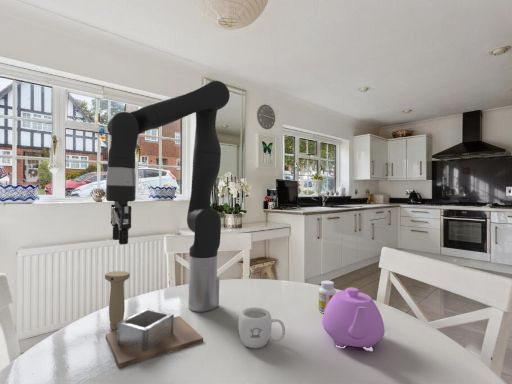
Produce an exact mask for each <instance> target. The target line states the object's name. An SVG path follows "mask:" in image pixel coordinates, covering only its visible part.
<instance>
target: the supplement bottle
mask: <svg viewBox="0 0 512 384" xmlns="http://www.w3.org/2000/svg"><path fill="white" fill-rule="evenodd" d="M320 284H321V285H320V286H321V287H319V289H318V311H319V310H320V311H321V312H324V311H325V308H326V306H327V304H328V303H329V301H330V300H331V298H332V297H333V296H334V294H335V293H337V291H336V289H335V288H334V287H335V283H334V281H332V280H322V281H321V283H320ZM321 312H320V313H321Z"/></svg>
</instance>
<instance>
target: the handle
mask: <svg viewBox="0 0 512 384" xmlns="http://www.w3.org/2000/svg"><path fill="white" fill-rule="evenodd" d="M130 273H131V272H128V271H121V270H120V271H117V270H116V271H109V272H106V273H105V274H104V279H105V280H106V281H108V282H110V291H109V303H108V304H109V306H108V316H109V319H108V320H109V327H110V328H111V329H112V330H117V323H118V322H120V321H122V320H124V319H125V306H126V305H125V304H126V303H125V281H127V280H128V279H130V276H131V274H130Z"/></svg>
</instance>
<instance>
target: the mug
mask: <svg viewBox="0 0 512 384" xmlns="http://www.w3.org/2000/svg"><path fill="white" fill-rule="evenodd" d="M272 323H279V324H280V326H281V329H282V331H281V336H280V337H273V336H271V334H272V333H271V332H272V327H273V326H272ZM238 333H239V338H240V341H241V342H242V344H243V345H244V346H245V347H247V348H250V349H261V348H263V347H265V346H266V345H267V343H268V342H269V340H271V341H272V342H280V341H281V340H283V339H284V337H285V334H286V327H285V325H284V322H283V321H282V320H281V319H278V318H273V319H272V316H271V312H270V311H268V310H267V309H266V308H262V307H247V308H245V309H242V310H241V311H240V313H239V316H238Z"/></svg>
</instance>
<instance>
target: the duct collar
mask: <svg viewBox="0 0 512 384" xmlns="http://www.w3.org/2000/svg"><path fill="white" fill-rule="evenodd" d="M174 317H175V314H173V313H171V312H165V311H160V310H157V309H152V308H150V307H149V308H146V309H143V310H141V311H139V312H137V313H135V314H133V315H130V316H128V317H126V318H124V319H123V320H122V321H120V322H118V323H117V329H116V331H117V343H118V344H122V345H125V346H128V347H131V348H134V349H138V350H141V351H144V352H145V351H147V350H148V349H150V348H152V347H153V346H155V345H156V344H158V343H159V342H161V341H162V340H164V339H165V338H167V337H168V336H170V335H171V334H173V325H174Z"/></svg>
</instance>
